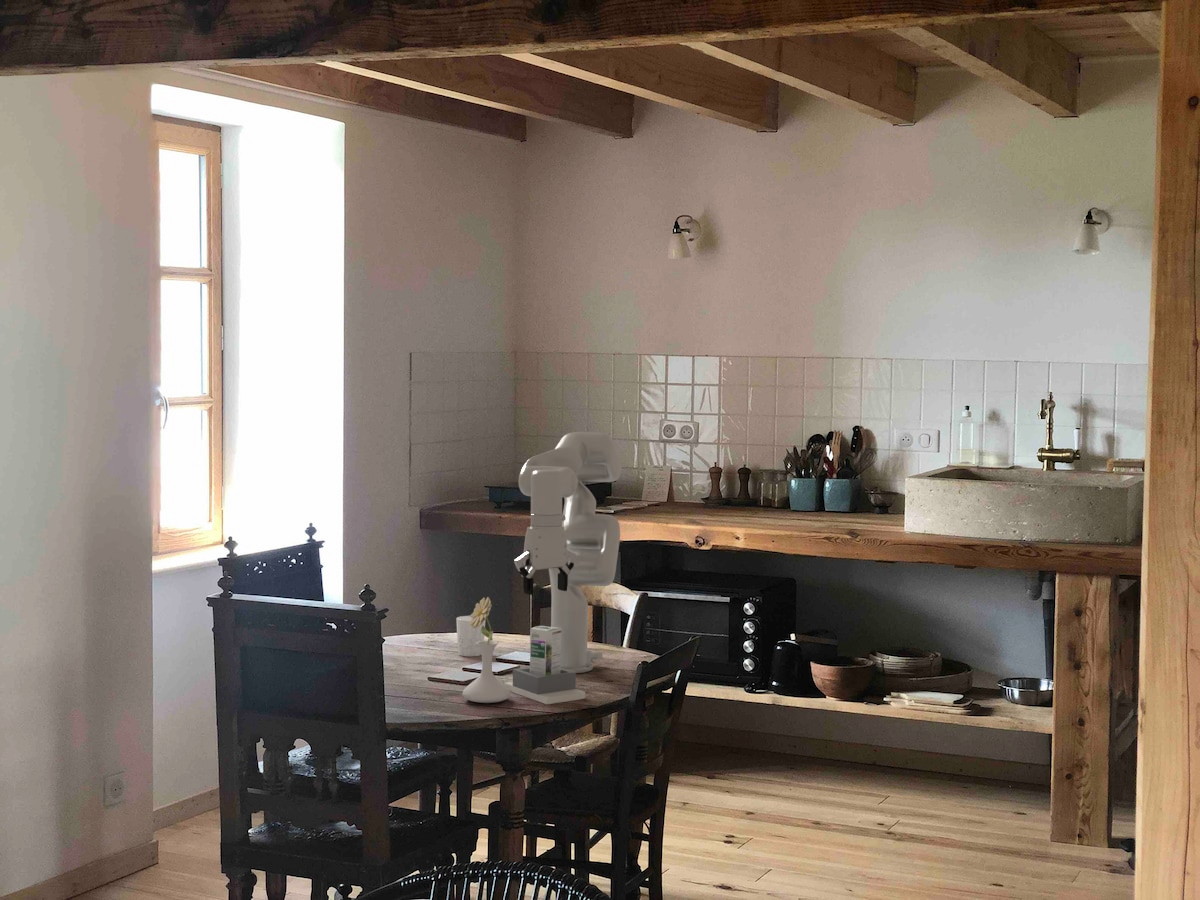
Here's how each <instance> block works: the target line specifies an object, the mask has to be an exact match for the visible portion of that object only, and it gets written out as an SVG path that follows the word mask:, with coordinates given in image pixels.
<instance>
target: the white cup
mask: <svg viewBox="0 0 1200 900" xmlns="http://www.w3.org/2000/svg"><path fill="white" fill-rule="evenodd" d="M470 616H471V615H462V616H458V617H456V637H457V638H456V639H457V651H458V652H457V653H458V656H460V657H461V656H462V657H471V658H472V657H480V656H482V655H481V651H480V648H479V646H478V645H477V642H479V641H485V635H484V634H482V632H481V628H482V626H484V627H485V628H486V620H485V621H483V623H482V624H480V626H479V627H478V626H477V627H476V628H472V625H470V621H471V619H472V618H471V617H470Z"/></svg>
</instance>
